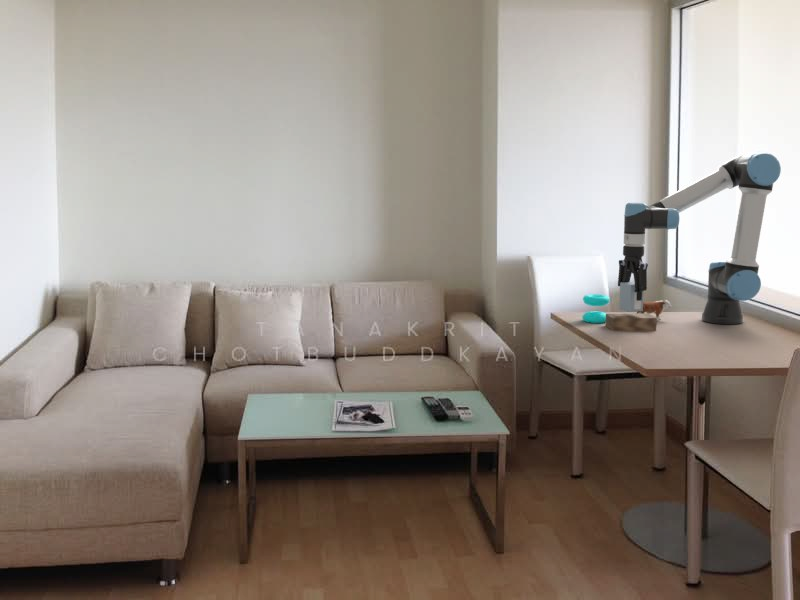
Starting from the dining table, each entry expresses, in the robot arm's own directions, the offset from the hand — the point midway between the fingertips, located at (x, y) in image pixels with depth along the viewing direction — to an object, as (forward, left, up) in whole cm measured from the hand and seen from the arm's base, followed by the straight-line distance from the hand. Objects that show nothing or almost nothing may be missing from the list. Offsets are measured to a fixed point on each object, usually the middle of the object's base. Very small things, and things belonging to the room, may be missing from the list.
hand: (631, 307), depth 354 cm
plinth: (0, 0, -8) cm, 8 cm away
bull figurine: (-19, -10, -8) cm, 23 cm away
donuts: (+3, -17, -8) cm, 19 cm away
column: (0, 0, -1) cm, 1 cm away
